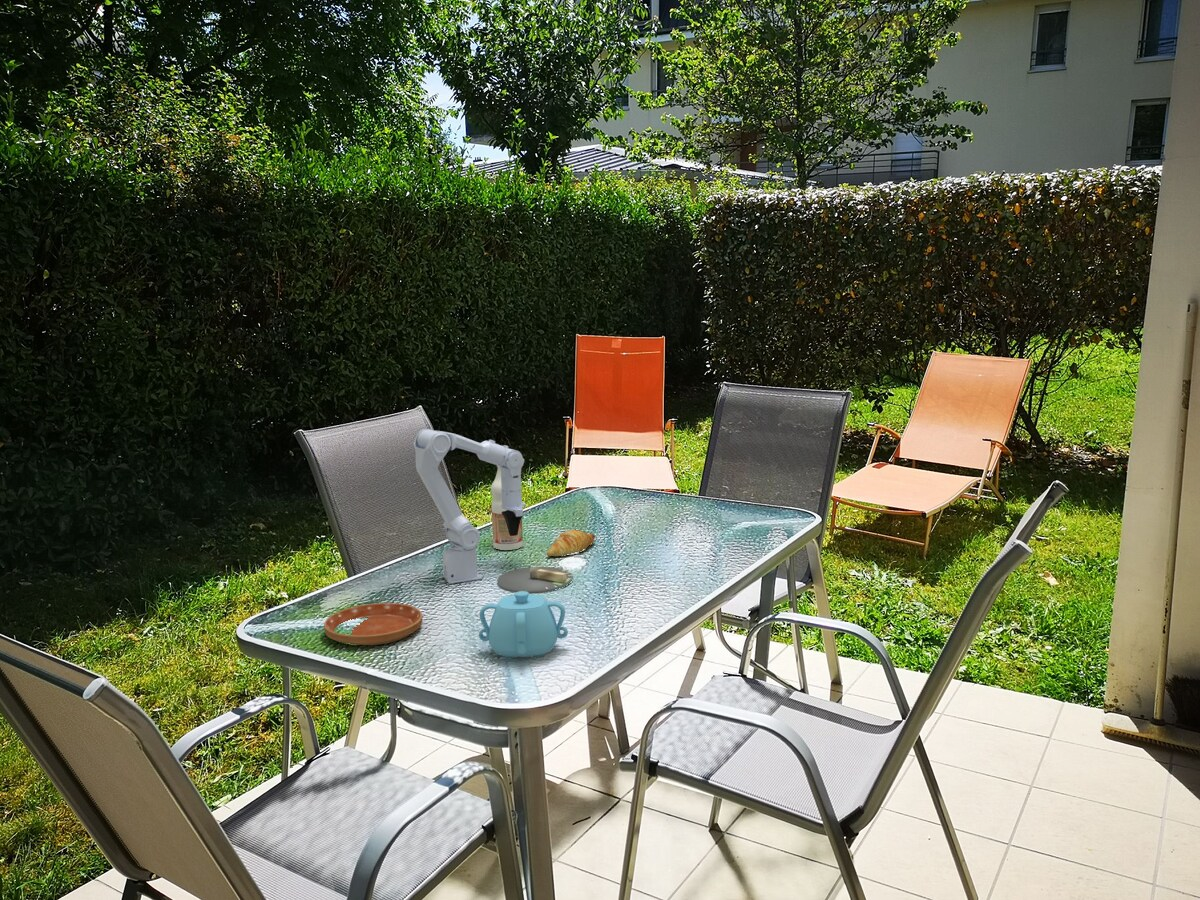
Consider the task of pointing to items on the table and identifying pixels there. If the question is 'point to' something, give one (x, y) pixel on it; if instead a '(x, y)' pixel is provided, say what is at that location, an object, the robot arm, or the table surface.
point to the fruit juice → (502, 520)
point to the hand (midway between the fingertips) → (513, 535)
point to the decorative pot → (522, 625)
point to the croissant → (570, 543)
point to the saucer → (375, 623)
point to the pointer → (547, 575)
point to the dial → (530, 581)
